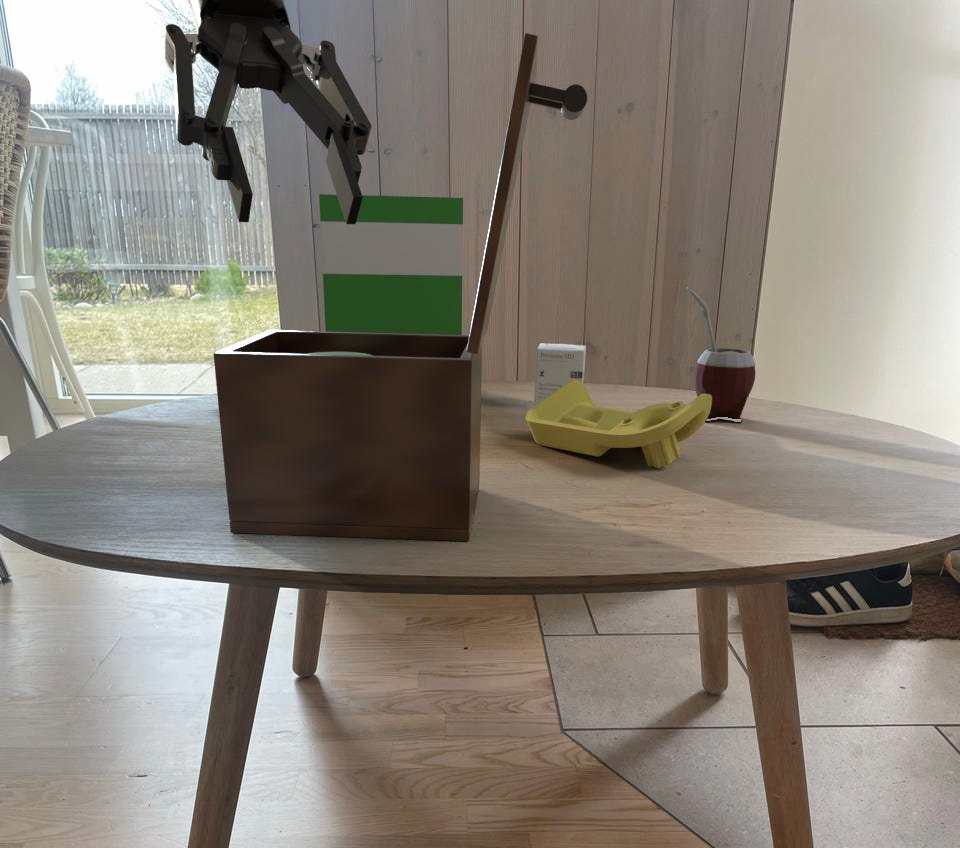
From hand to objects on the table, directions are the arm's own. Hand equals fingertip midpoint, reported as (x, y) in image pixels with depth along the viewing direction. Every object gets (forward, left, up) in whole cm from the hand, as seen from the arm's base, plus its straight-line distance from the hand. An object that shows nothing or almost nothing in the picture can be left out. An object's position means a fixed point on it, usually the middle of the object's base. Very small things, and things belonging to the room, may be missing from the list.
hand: (301, 209), depth 70 cm
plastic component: (+27, +17, -22) cm, 39 cm away
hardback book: (0, +52, -22) cm, 56 cm away
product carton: (+22, +44, -22) cm, 54 cm away
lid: (+15, -5, +1) cm, 16 cm away
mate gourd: (+41, +38, -22) cm, 60 cm away
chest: (+5, -5, -22) cm, 23 cm away
